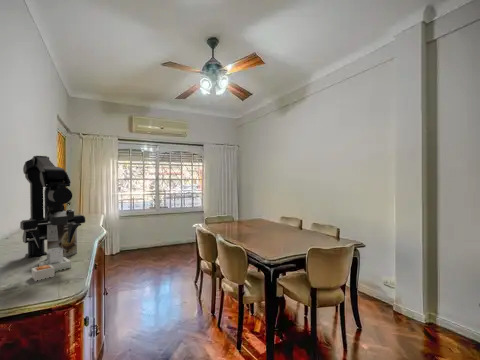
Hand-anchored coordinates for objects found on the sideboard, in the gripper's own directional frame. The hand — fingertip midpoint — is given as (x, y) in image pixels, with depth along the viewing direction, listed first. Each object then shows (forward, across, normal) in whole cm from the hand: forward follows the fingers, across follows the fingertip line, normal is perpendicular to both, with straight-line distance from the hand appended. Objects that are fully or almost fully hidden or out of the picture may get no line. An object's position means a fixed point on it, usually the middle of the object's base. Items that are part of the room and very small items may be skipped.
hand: (54, 245), depth 95 cm
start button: (+7, -5, -7) cm, 11 cm away
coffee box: (+9, +6, +17) cm, 20 cm away
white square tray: (+8, 0, 0) cm, 9 cm away
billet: (+8, 0, 0) cm, 8 cm away
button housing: (+8, -5, -7) cm, 12 cm away
